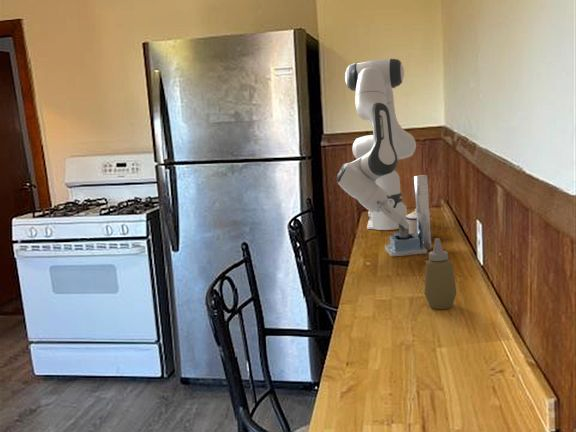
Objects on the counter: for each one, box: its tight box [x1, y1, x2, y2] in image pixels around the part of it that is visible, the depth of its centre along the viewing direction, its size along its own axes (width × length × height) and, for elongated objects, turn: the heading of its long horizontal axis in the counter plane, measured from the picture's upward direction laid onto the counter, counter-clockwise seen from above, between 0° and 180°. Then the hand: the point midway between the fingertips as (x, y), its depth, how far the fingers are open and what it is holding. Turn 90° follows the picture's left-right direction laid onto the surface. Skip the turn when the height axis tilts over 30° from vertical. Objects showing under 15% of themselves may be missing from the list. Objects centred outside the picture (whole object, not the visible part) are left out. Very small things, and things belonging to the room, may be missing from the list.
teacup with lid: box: [406, 208, 432, 236], centre depth 227 cm, size 12×9×12 cm
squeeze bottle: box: [424, 237, 457, 310], centre depth 153 cm, size 8×8×18 cm
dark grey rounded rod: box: [398, 222, 409, 240], centre depth 211 cm, size 3×3×10 cm
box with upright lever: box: [384, 174, 432, 258], centre depth 212 cm, size 18×15×26 cm
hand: (405, 224), depth 210 cm, fingers open, 8 cm apart
